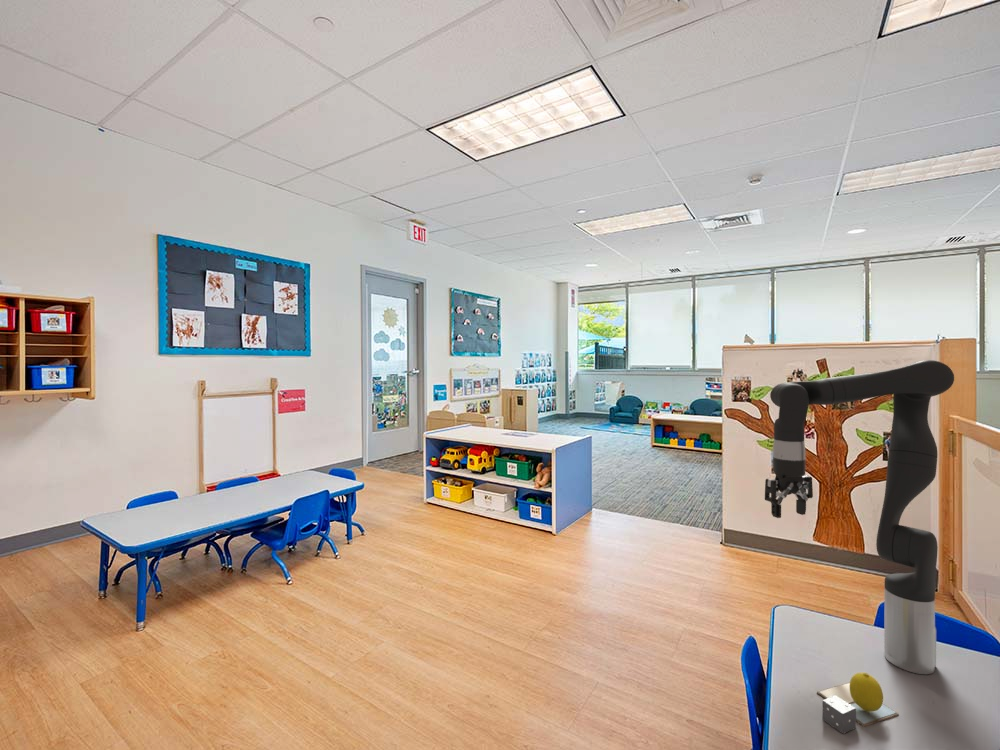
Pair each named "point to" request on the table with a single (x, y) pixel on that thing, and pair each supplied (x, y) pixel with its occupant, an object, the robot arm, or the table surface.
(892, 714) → the board
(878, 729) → the table surface
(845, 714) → the die
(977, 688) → the table surface
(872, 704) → the lemon
